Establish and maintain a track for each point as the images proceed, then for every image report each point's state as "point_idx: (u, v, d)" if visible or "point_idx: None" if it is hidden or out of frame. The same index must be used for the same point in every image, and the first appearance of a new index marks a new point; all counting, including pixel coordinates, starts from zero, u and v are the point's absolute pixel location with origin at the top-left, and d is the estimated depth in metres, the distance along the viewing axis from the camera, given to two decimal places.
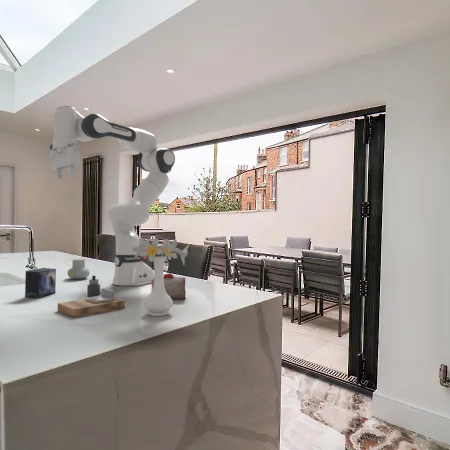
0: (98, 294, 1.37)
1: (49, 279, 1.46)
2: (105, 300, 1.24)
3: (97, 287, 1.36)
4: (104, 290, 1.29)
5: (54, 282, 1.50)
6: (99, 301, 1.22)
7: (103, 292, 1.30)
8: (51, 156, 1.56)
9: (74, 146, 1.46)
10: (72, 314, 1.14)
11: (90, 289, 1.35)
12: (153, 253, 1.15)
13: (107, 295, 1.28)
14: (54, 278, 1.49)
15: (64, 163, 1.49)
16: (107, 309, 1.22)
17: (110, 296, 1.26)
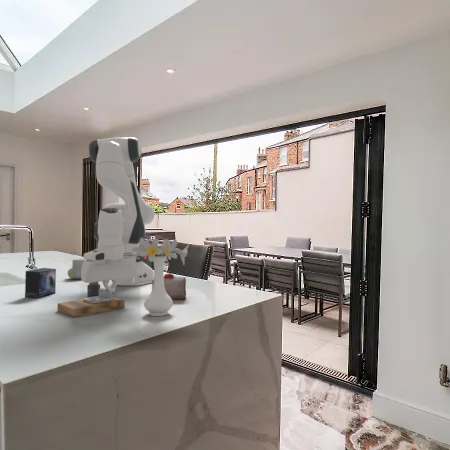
0: (98, 294, 1.37)
1: (49, 279, 1.46)
2: (102, 301, 1.23)
3: (97, 287, 1.36)
4: (101, 290, 1.28)
5: (54, 282, 1.50)
6: (96, 302, 1.22)
7: (100, 292, 1.29)
8: (92, 267, 1.21)
9: (134, 257, 1.36)
10: (72, 314, 1.14)
11: (90, 289, 1.35)
12: (153, 253, 1.15)
13: (104, 295, 1.27)
14: (54, 278, 1.49)
15: (122, 275, 1.30)
16: (107, 309, 1.22)
17: (107, 296, 1.26)
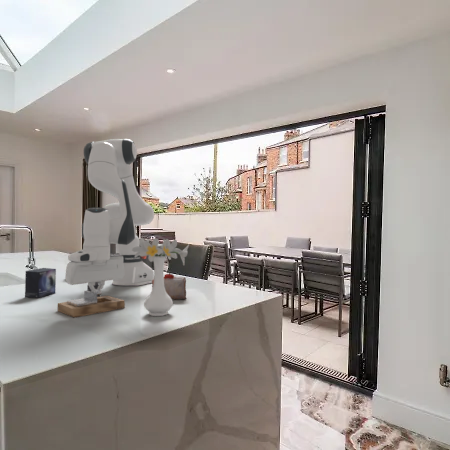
0: None
1: (49, 279, 1.46)
2: (87, 303, 1.19)
3: (97, 287, 1.36)
4: (87, 293, 1.24)
5: (54, 282, 1.50)
6: (81, 304, 1.18)
7: (85, 294, 1.25)
8: (76, 269, 1.17)
9: (121, 257, 1.32)
10: (72, 314, 1.14)
11: (90, 289, 1.35)
12: (153, 253, 1.15)
13: (90, 298, 1.23)
14: (54, 278, 1.49)
15: (108, 277, 1.27)
16: (107, 309, 1.22)
17: (93, 299, 1.22)
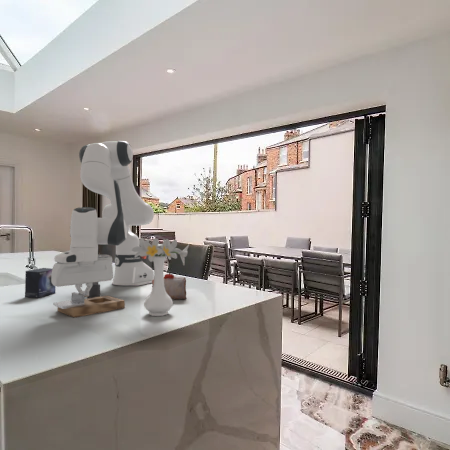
0: (98, 294, 1.37)
1: (49, 279, 1.46)
2: (74, 305, 1.16)
3: (97, 287, 1.36)
4: (74, 294, 1.21)
5: None
6: (67, 306, 1.14)
7: (73, 296, 1.22)
8: (62, 270, 1.14)
9: (110, 258, 1.28)
10: (72, 314, 1.14)
11: (90, 289, 1.35)
12: (153, 253, 1.15)
13: (77, 300, 1.20)
14: None
15: (97, 278, 1.23)
16: (107, 309, 1.22)
17: (80, 301, 1.18)
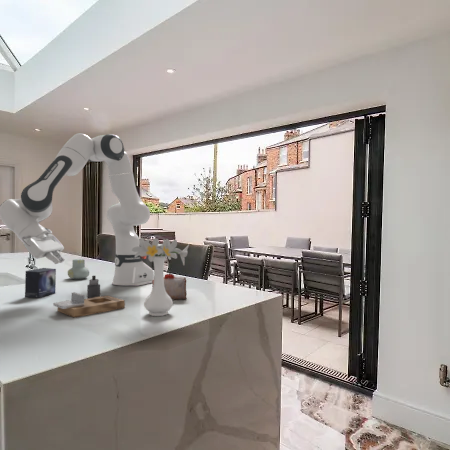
0: (98, 294, 1.37)
1: (49, 279, 1.46)
2: (74, 305, 1.16)
3: (97, 287, 1.36)
4: (74, 294, 1.21)
5: (54, 282, 1.50)
6: (67, 306, 1.14)
7: (72, 296, 1.22)
8: None
9: None
10: (72, 314, 1.14)
11: (90, 289, 1.35)
12: (153, 253, 1.15)
13: (77, 300, 1.20)
14: (54, 278, 1.49)
15: None
16: (107, 309, 1.22)
17: (80, 301, 1.18)
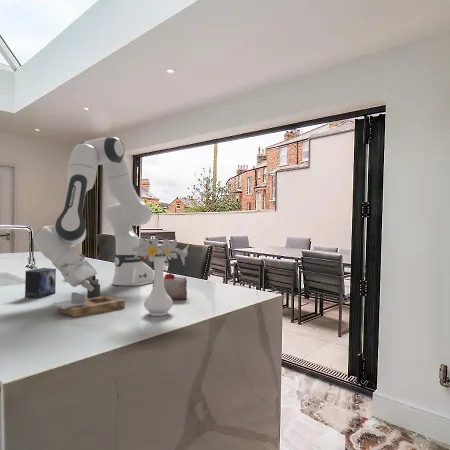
0: (98, 294, 1.37)
1: (49, 279, 1.46)
2: (74, 305, 1.16)
3: (97, 287, 1.36)
4: (74, 294, 1.21)
5: (54, 282, 1.50)
6: (67, 306, 1.14)
7: (72, 296, 1.22)
8: None
9: None
10: (72, 314, 1.14)
11: None
12: (153, 253, 1.15)
13: (77, 300, 1.20)
14: (54, 278, 1.49)
15: None
16: (107, 309, 1.22)
17: (80, 301, 1.18)
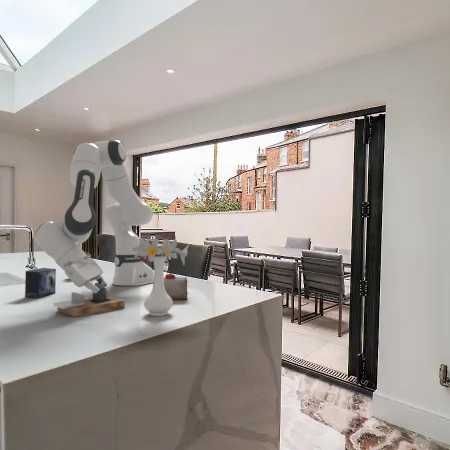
0: (105, 299, 1.25)
1: (49, 279, 1.46)
2: (74, 305, 1.16)
3: (103, 291, 1.25)
4: (74, 294, 1.21)
5: (54, 282, 1.50)
6: (67, 306, 1.14)
7: (72, 296, 1.22)
8: None
9: None
10: (72, 314, 1.14)
11: (95, 294, 1.24)
12: (153, 253, 1.15)
13: (77, 300, 1.20)
14: (54, 278, 1.49)
15: None
16: (107, 309, 1.22)
17: (80, 301, 1.18)
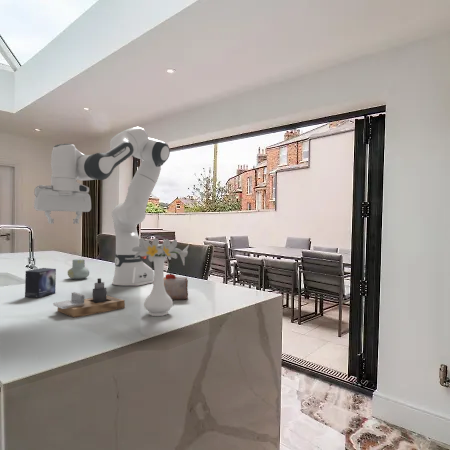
0: (104, 298, 1.25)
1: (49, 279, 1.46)
2: (74, 305, 1.16)
3: (102, 291, 1.25)
4: (74, 294, 1.21)
5: (54, 282, 1.50)
6: (67, 306, 1.14)
7: (72, 296, 1.22)
8: None
9: None
10: (72, 314, 1.14)
11: (95, 293, 1.24)
12: (153, 253, 1.15)
13: (77, 300, 1.20)
14: (54, 278, 1.49)
15: None
16: (107, 309, 1.22)
17: (80, 301, 1.18)
